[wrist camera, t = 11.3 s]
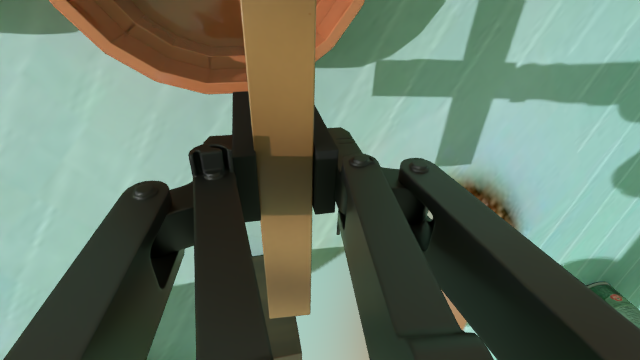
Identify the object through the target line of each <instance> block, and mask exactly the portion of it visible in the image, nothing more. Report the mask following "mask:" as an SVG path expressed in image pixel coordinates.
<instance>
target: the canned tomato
mask: <svg viewBox="0 0 640 360" xmlns="http://www.w3.org/2000/svg"><path fill="white" fill-rule="evenodd" d="M587 287H588V288H589V289H591V290H592V291H593V292H594V293H596V294H597V295H598V296H599V297H601V298H602V299H603V300H604V301H606V302H607V303H608V304H609V305H611V306H612V307H613V308H614V309H616V310H617V311H618V312H619V313H621V314H622V315H623V316H624V317H625V318H627V319H628V320H629V321H630V322H632V323H633V324H634V325H635V326H637V327H638V328H639V329H640V311H639V310H638V309H637V308H636V307H635V306H633V304H631V303H630V302H629V301H628V300H627V299H626V298H624V297H623V296H622V295H621V294H620V293H618V292H617V291H616V290H615V289H614V288H613V287H612V286H611V285H610V284H608V283H606V282H598V283H594V284H591V285H588V286H587Z"/></svg>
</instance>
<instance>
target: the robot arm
mask: <svg viewBox="0 0 640 360" xmlns="http://www.w3.org/2000/svg"><path fill="white" fill-rule="evenodd" d="M188 156H189V160H190V165H191V170H192V175H193V181H192V182H191V183H189V184H187V185H185V186H182V187H179V188H175V189H172V190H169V187H168V186H167V184H165V183H163V182H161V181H144V182H141V183H137V184H135V185H133V186H131V187H129V188H128V189H127V190H126V191H125V192H123V194H122V195H121V196H120V198H119V199H118V201H117V202H116V203H115V205H114V206H113V208H112V209H111V210H110V212H109V213H108V215H107V216H106V217H105V219H104V220H103V221H102V223H101V224H100V226H99V227H98V228H97V230H96V231H95V233H94V234H93V235H92V237H91V238H90V240H89V241H88V242H87V244H86V245H85V247H84V248H83V249H82V251H81V252H80V254H79V255H78V256H77V258H76V259H75V260H74V262H73V263H72V265H71V266H70V267H69V269H68V270H67V272H66V273H65V274H64V276H63V277H62V279H61V280H60V281H59V283H58V284H57V286H56V287H55V288H54V290H53V291H52V293H51V294H50V295H49V297H48V298H47V299H46V301H45V302H44V304H43V305H42V306H41V308H40V309H39V311H38V312H37V313H36V315H35V316H34V318H33V319H32V320H31V322H30V323H29V325H28V326H27V327H26V329H25V330H24V332H23V333H22V334H21V336H20V337H19V338H18V340H17V341H16V343H15V344H14V345H13V347H12V348H11V350H10V351H9V352H8V354H7V355H6V357H5V358H4V359H3V360H146V359H147V356H148V353H149V350H150V348H151V345H152V342H153V339H154V336H155V334H156V331H157V328H158V325H159V323H160V320H161V317H162V314H163V311H164V309H165V306H166V303H167V300H168V298H169V295H170V292H171V289H172V287H173V284H174V281H175V278H176V275H177V273H178V270H179V267H180V264H181V262H182V259H183V256H184V250H185V248H188V247H191V246H194V263H195V318H196V360H274V359H273V355H272V350H271V345H270V341H269V336H268V331H267V326H266V322H265V317H264V312H263V307H262V302H261V298H260V293H259V288H258V283H257V279H256V274H255V269H254V264H253V259H252V255H251V250H250V245H249V240H248V236H247V231H246V226H245V222H252V221H261V210H260V198H259V187H258V175H257V163H256V152H255V151H254V146H253V135H252V125H251V114H250V103H249V92H248V91H239V92H233V124H232V135H224V136H210V137H209V138H208V139H207V140H206V141H205V142H204V144H203V145H200V146H197V147H195V148H193V149H192V150H191V151H190V152H189V155H188ZM335 201H336V204H337V206H338V208H339V209H338V222H337V235H339V234H340V232H341V236H342V240H343V245H344V249H345V253H346V258H347V262H348V266H349V271H350V275H351V280H352V284H353V288H354V293H355V297H356V301H357V305H358V310H359V315H360V319H361V323H362V327H363V332H364V336H365V340H366V345H367V349H368V353H369V358H370V360H494V359H493V357H492V356H491V354H490V352H489V350H490V351H491V352H492V353H493V355H494V356H495V357H496V358H497V360H640V329H639V328H638V327H637V326H635V325H634V324H633V323H632V322H630V321H629V320H628V319H627V318H625V317H624V316H623V315H622V314H621V313H619V312H618V311H617V310H616V309H614V308H613V307H612V306H611V305H609V304H608V303H607V302H606V301H604V300H603V299H602V298H601V297H599V296H598V295H597V294H596V293H594V292H593V291H592V290H591V289H589V288H588V287H587V286H586V285H584V284H583V283H582V282H581V281H579V280H578V279H577V278H576V277H574V276H573V275H572V274H571V273H569V272H568V271H567V270H566V269H564V268H563V267H562V266H561V265H559V264H558V263H557V262H556V261H555V260H553V259H552V258H551V257H550V256H548V255H547V254H546V253H545V252H543V251H542V250H541V249H540V248H538V247H537V246H536V245H535V244H533V243H532V242H531V241H530V240H528V239H527V238H526V237H525V236H523V235H522V234H521V233H520V232H518V231H517V230H516V229H515V228H513V227H512V226H511V225H510V224H508V223H507V222H506V221H505V220H503V219H502V218H501V217H500V216H498V215H497V214H496V213H495V212H493V211H492V210H491V209H490V208H488V207H487V206H486V205H485V204H484V203H482V202H481V201H480V200H479V199H477V198H476V197H475V196H474V195H472V194H471V193H470V192H469V191H467V190H466V189H465V188H464V187H462V186H461V185H460V184H459V183H457V182H456V181H455V180H454V179H452V178H451V177H450V176H449V175H447V174H446V173H445V172H444V171H442V170H441V169H440V168H439V167H437V166H436V165H435V164H433V163H432V162H430V161H427V160H424V159H421V158H420V159H419V158H409V159H406V160H403V161H402V162H401V165H400V169H390V168H383V167H380V165H379V163H378V161H377V160H376V159H375V158H374V157H372V156H370V155H366V154H363V153H362V152H361V150H360V148H359V147H358V145H357V144H356V143H355V141H354V139H352V136H351V135H350V133H349V132H348V131H346V130H345V129H343V128H341V127H340V128H327V127H326V125H325V124H324V122H323V120H322V118H321V116H320V114H319V112H318V111H317V109H316V107H315V105H314V144H313V197H312V206H313V209H314V212H315V214H324V213H334V212H335ZM428 210H429V211H430V212H431V213H432V215H433V219H432V220H431V219H430V218H429V217H428V216H427V213H428ZM440 288H441V289H440ZM441 290H442V291H443V292H444V293H445V294H446V296H447V297H448V298H449V299H450V301H451V302H452V303H453V305H454V306H455V307H456V308H457V310H458V311H459V312H460V313H461V315H462V316H463V317H464V318H465V320H466V321H467V322H468V323H469V325H470V326H471V327H472V328H473V330H474V331H475V332H476V333H477V335H478V336H477V335H476V334H475V333H465V332H464V331H463V330H461V328H460V327H459V325H458V323H457V321H456V319H455V317H454V315H453V313H452V311H451V309H450V307H449V305H448V303H447V301H446V299H445V297H444V295H443V293H442V291H441ZM484 343H485V344H484ZM486 346H487V347H488V348H489V350H488V348H487V347H486Z"/></svg>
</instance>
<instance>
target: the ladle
mask: <svg viewBox="0 0 640 360" xmlns="http://www.w3.org/2000/svg"><path fill="white" fill-rule="evenodd" d="M240 6H241V17H242V28H243V39H244V49H245V60H246V71H247V82H248V92H249V103H250V114H251V125H252V135H253V146H254V151H255V152H256V163H257V175H258V187H259V198H260V210H261V221H260V222H261V232H262V243H263V254H264V265H265V275H266V286H267V297H268V308H269V318H270V319H271V318H281V317H291V316H300V315H309V314H310V302H311V300H310V299H311V250H312V197H313V144H314V92H315V39H316V0H240Z"/></svg>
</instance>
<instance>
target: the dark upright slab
mask: <svg viewBox="0 0 640 360" xmlns="http://www.w3.org/2000/svg"><path fill="white" fill-rule="evenodd" d="M252 259H253V264H254V269H255V274H256V279H257V283H258V288H259V293H260V298H261V302H262V307H263V312H264V317H265V322H266V326H267V331H268V336H269V341H270V345H271V350H272V355H273V359H274V360H302V351H301V345H300V339H299V334H298V328H297V322H296V316H291V317H281V318H271V319H270V318H269V308H268V297H267V286H266V275H265V265H264V255H263V256H255V257H252Z"/></svg>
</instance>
